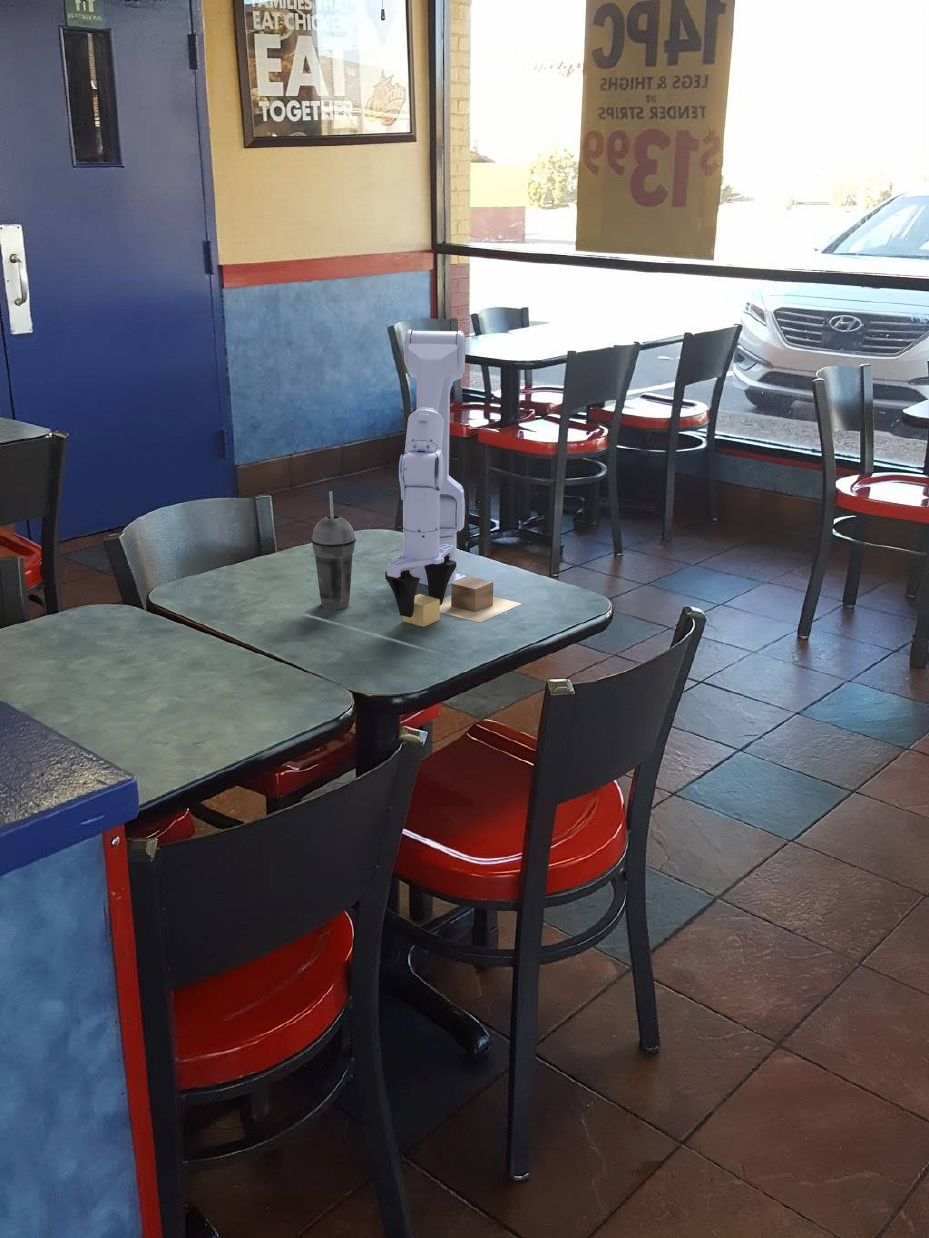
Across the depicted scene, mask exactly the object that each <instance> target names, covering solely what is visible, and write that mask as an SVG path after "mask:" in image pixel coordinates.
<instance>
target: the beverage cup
mask: <svg viewBox="0 0 929 1238" xmlns="http://www.w3.org/2000/svg"><path fill="white" fill-rule="evenodd" d="M328 494H329V509H330V510H329V511H330V512H329V514H330V515H328V516H325V517H323V518H322V519H320V520H319V521H318V522H317V523H316V524H315V526H314V527H313V532H312V535H311V536H312V537H311V544H312V551H313V554H314V558H315V566H316V573H317V583H318V591H319V597H320V598H319V600H320V604H321V607H322V608H324V609H327V610H342V609H346V608H347V607H349V605H350V600H351V599H350V598H351V584H352V568H353V554H354V553H355V543H356V541H357V539H356V536H355V532H354V529H353V526H352V525H351V524H350V522H349V521H347V520H346V519H345V518H343V517H342V516H339V515H334V501H333V500H334V499H333V491H331V490H330V491H328Z"/></svg>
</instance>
